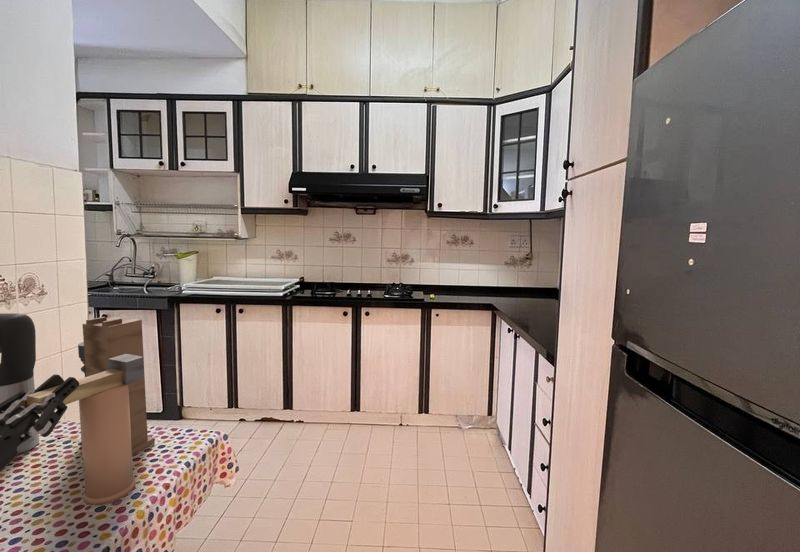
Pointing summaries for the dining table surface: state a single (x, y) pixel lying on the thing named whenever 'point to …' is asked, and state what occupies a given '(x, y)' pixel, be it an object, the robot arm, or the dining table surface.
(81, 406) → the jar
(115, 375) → the mallet
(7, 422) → the robot arm
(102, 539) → the dining table surface
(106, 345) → the stand
